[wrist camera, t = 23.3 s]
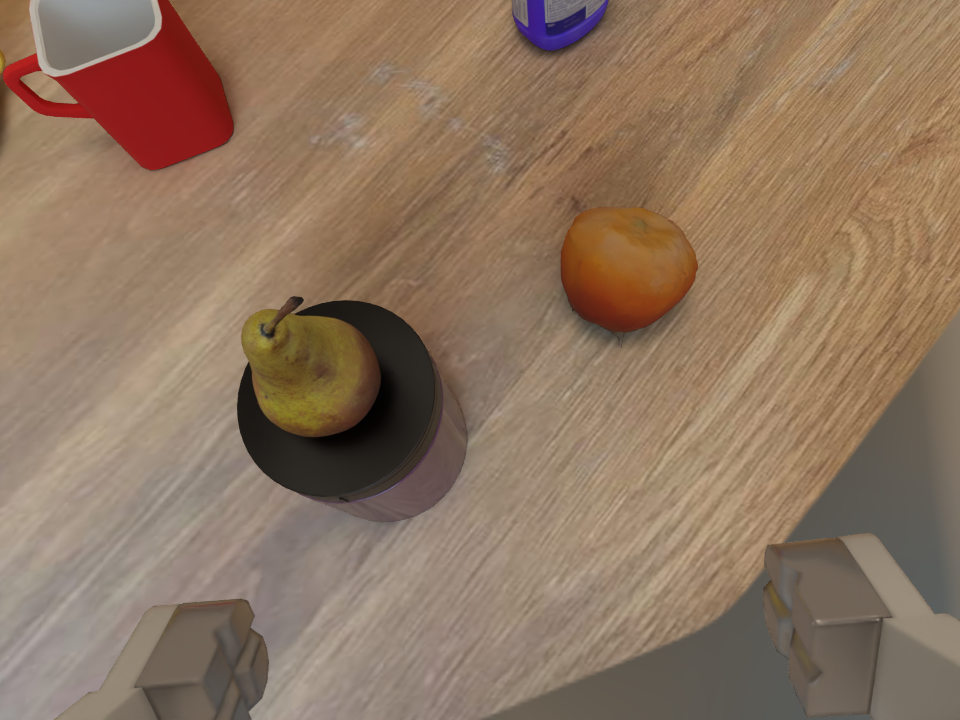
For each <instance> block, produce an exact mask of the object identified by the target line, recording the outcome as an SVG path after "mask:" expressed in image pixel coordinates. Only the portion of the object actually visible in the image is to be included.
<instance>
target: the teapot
mask: <svg viewBox="0 0 960 720" xmlns="http://www.w3.org/2000/svg"><path fill="white" fill-rule="evenodd" d="M4 67H5V57H4V54H3V53H2V51H1V50H0V74H1V72H2V71H3V69H4Z"/></svg>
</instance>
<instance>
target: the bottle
mask: <svg viewBox="0 0 960 720" xmlns="http://www.w3.org/2000/svg"><path fill="white" fill-rule="evenodd" d="M607 4H608V0H512V13H513V18H514V21H515V23H516V25H517V27H518V29H519V30H520V32H521V33H522V34H523V35H524V36H526V37H527V38H528V39H529V40H530V41H531V42H532V43H533V44H534V45H536V46H538V47H539V48H542V49H545V50H548V51H550V50H557V49H560V48H563V47H566V46H568V45H570V44H572V43H574V42H575V41H577V40H579V39H580V38H582V37H583V36H584V35H586V34H587V33H588V32H589V31H591V30H592V29H593V28H594V27H595V26H596V24H597V23H598V22H599V21H600V19H601V18H602V16H603V14H604V12H605V10H606V7H607Z"/></svg>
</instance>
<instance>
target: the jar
mask: <svg viewBox="0 0 960 720" xmlns="http://www.w3.org/2000/svg"><path fill="white" fill-rule="evenodd" d="M428 352H429V351H428ZM429 354H430V353H429ZM430 356H431V355H430ZM431 358H432V356H431ZM432 360H433V362H434V364H435V367H436V369H437V372H438V376H439V379H440V385H441V396H442V405H441V413H440V419H439V423H438V426H437V430H436V433H435V435H434V437H433V440H432V442H431V444H430V446H429V448H428V449H427V451H426V453H425V454H424V456H423V457H422V458H421V460H420V461H419V462H418V464H417V465H416V466H415V467H414V468H413V469H412V470H411V471H410V472H409V473H408V474H407V475H406V476H405V477H403V478H402V479H401V480H400V481H399V482H397V483H396V484H394V485H393V486H391V487H389V488H388V489H386V490H384V491H382V492H380V493H377V494H375V495H373V496H370V497H366V498H363V499H359V500H353V501H349V503H346V502H331V501H322V500H318V499H314V498H310V497H308V498H310V499H313V500H315V501H318V502H320V503H323V504H325V505H328V506H331V507H333V508H336V509H338V510H341V511H343V512H346V513H348V514H351V515H354V516H356V517H359V518H361V519H365V520H369V521H375V522H395V521H400V520H405V519H408V518H411V517H414V516H416V515H418V514H420V513H422V512H424V511H426V510H427V509H429V508H431V507H432V506H433V505H435V504H436V503H437V502H438V501H439V500H441V499H442V498H443V496H444V495H445V494H446V493H447V492H448V491H449V490H450V488H451V487H452V485H453V484H454V483H455V481H456V479H457V477H458V475H459V473H460V471H461V468H462V466H463V463H464V459H465V455H466V448H467V430H466V423H465V419H464V416H463V413H462V410H461V408H460V406H459V404H458V402H457V400H456V398H455V397H454V395H453V393H452V391H451V390H450V388H449V386H448V384H447V382H446V381H445V379H444V377H443V375H442V374H441V372H440V370H439V368H438V366H437V365H436V363H435V361H434V359H433V358H432ZM299 494H300V493H299ZM300 495H302V494H300ZM303 496H305V495H303ZM305 497H307V496H305Z"/></svg>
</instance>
